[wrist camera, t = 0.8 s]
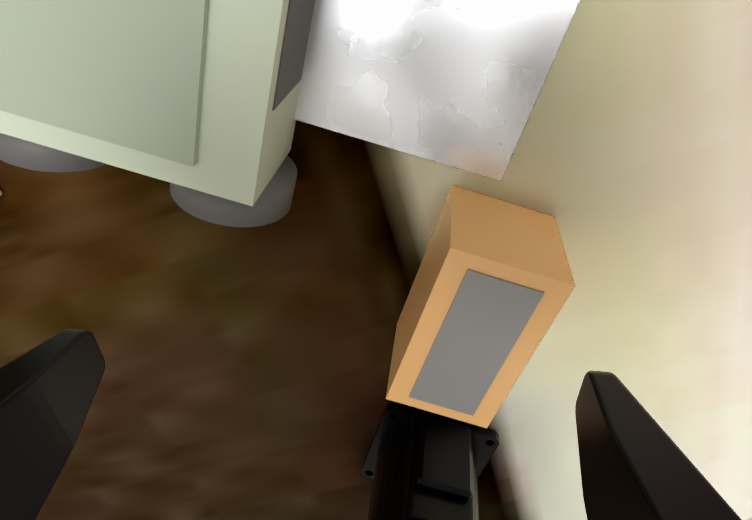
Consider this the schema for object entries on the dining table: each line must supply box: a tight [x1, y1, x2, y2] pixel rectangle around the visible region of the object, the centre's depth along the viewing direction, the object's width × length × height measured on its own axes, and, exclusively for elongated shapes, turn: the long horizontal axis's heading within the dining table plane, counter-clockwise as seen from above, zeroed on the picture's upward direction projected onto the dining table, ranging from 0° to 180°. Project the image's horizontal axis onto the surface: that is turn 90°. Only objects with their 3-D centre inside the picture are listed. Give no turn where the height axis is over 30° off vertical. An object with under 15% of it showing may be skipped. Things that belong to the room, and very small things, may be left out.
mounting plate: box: [294, 0, 580, 181], centre depth 19 cm, size 9×8×1 cm
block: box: [386, 185, 575, 428], centre depth 23 cm, size 8×4×5 cm, turn 164°
